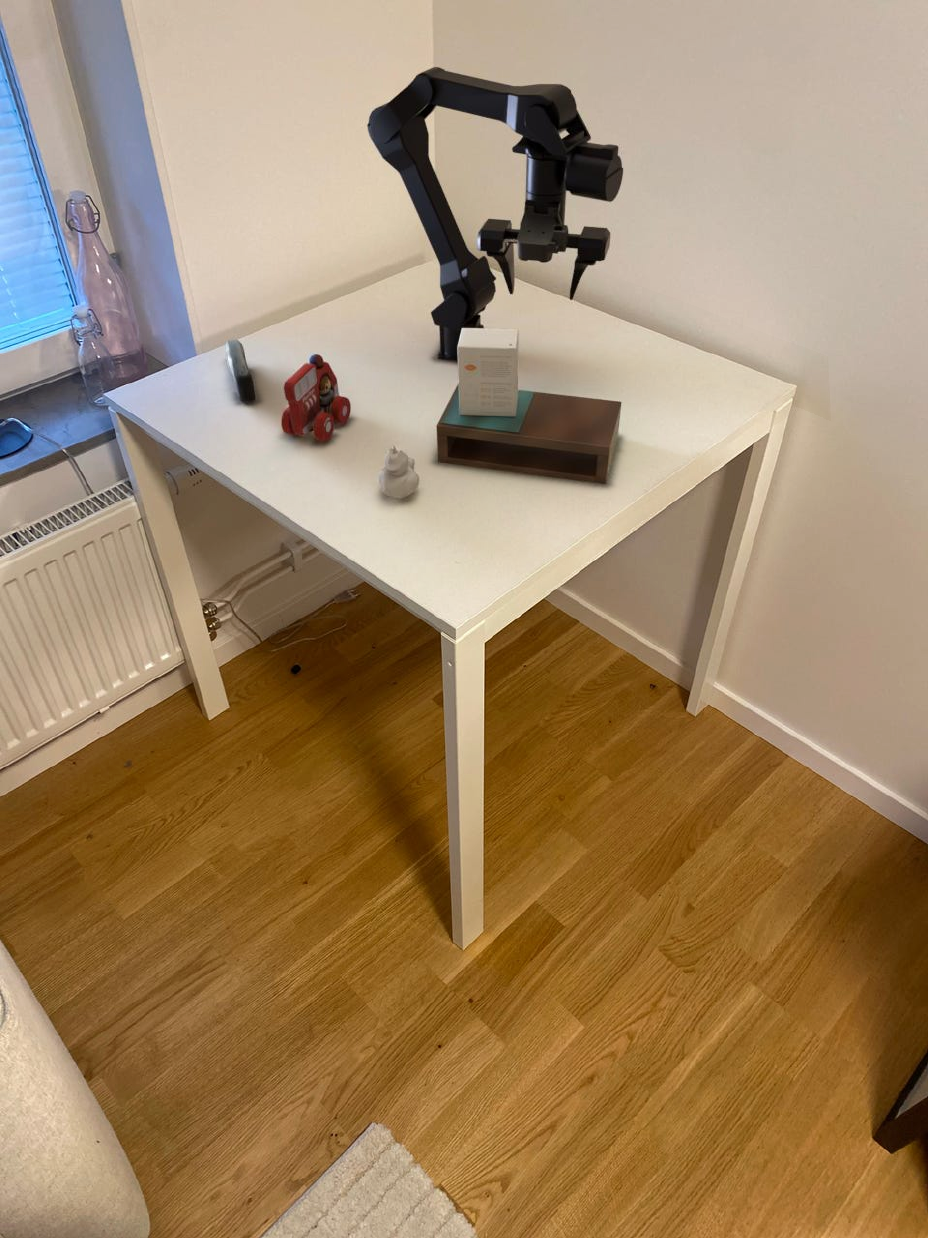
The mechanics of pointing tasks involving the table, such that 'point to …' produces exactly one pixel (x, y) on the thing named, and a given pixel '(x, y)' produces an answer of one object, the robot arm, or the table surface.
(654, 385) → the table surface
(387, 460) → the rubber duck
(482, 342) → the small box
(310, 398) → the toy fire truck
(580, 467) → the shelf
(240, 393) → the mobile phone
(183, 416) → the table surface
